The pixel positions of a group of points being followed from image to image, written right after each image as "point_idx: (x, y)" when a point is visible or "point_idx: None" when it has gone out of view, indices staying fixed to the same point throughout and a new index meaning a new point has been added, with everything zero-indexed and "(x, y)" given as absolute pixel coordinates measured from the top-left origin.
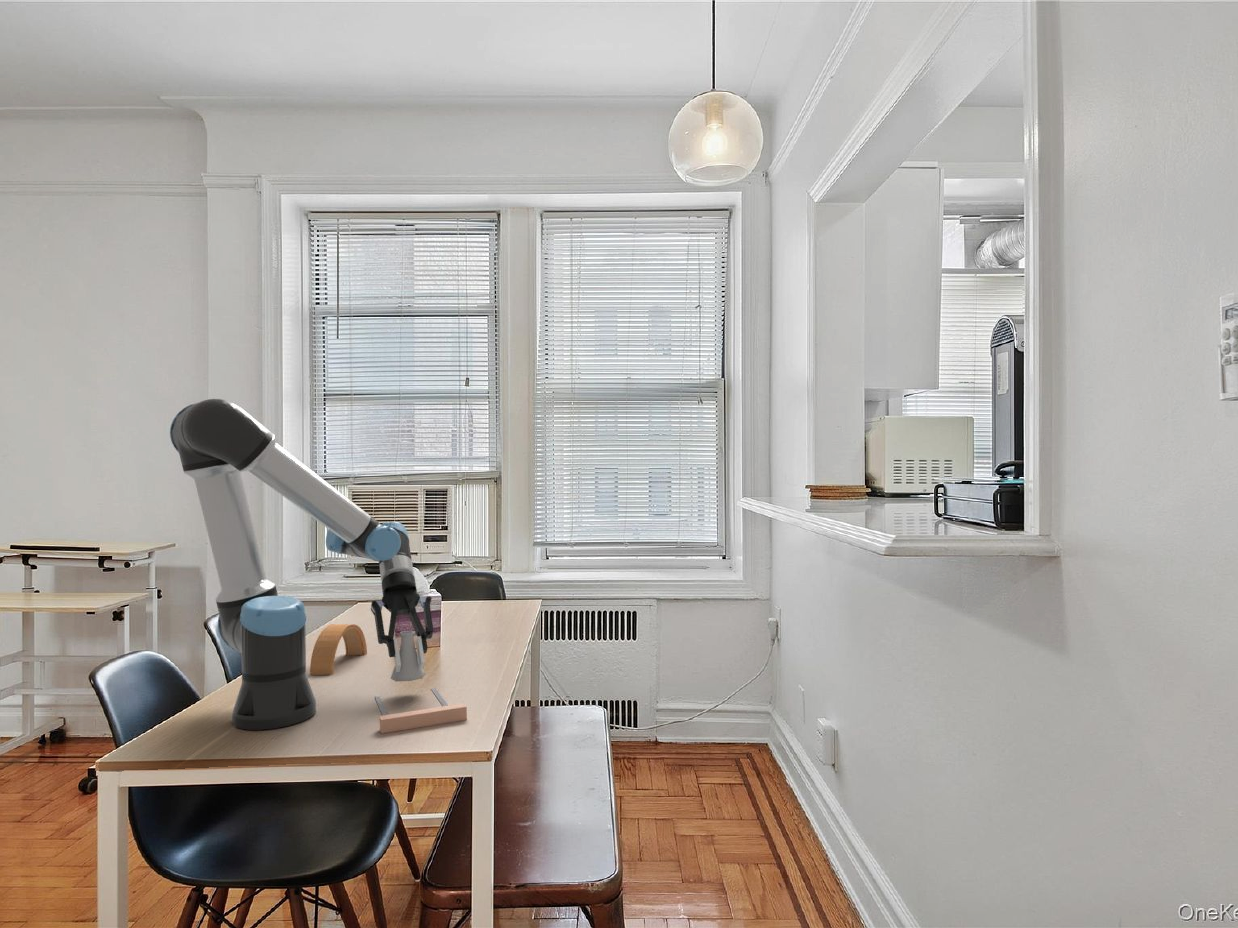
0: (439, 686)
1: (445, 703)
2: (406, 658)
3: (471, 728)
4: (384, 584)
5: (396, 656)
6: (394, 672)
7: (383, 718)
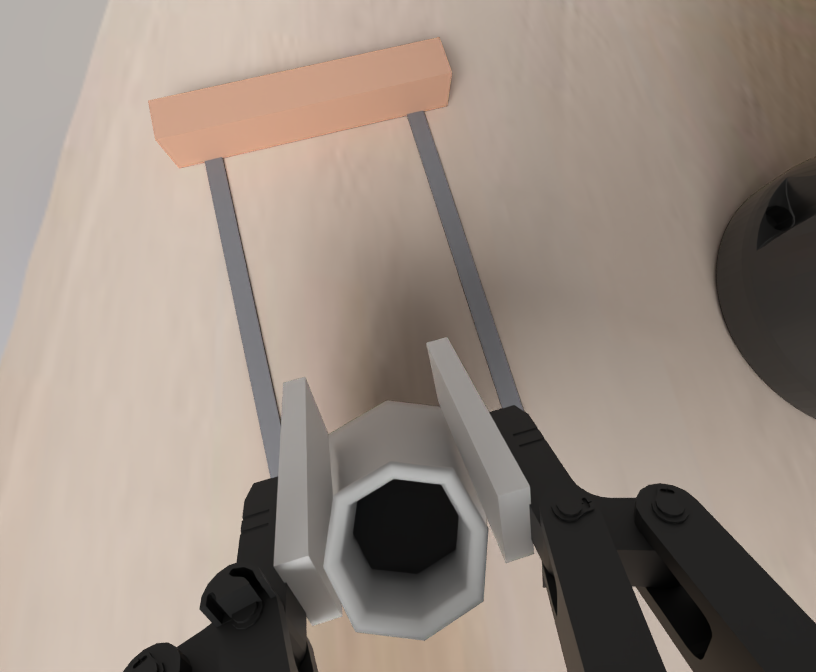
0: None
1: (241, 313)
2: (405, 438)
3: (164, 56)
4: None
5: (465, 372)
6: None
7: (433, 48)
